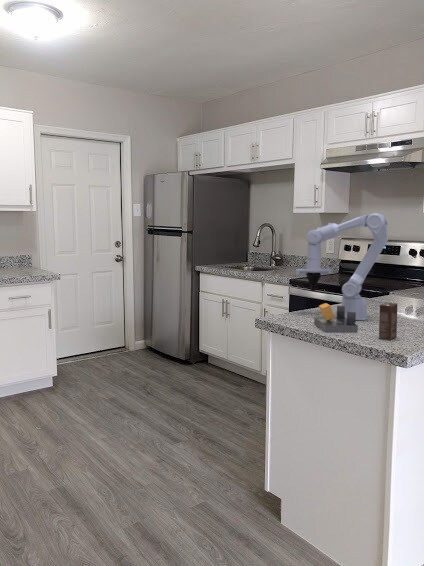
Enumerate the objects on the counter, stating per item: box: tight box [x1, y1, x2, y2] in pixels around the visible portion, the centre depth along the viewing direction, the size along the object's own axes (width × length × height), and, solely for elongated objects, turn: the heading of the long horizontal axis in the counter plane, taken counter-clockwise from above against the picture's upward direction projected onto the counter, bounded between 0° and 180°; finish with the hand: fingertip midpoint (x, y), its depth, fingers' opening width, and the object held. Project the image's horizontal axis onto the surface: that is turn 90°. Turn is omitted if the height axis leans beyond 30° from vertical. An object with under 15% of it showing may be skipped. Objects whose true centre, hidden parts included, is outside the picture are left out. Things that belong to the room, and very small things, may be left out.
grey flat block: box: [313, 316, 359, 334], centre depth 184 cm, size 12×15×3 cm
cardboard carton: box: [318, 302, 335, 322], centre depth 183 cm, size 3×6×6 cm, turn 3°
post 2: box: [347, 312, 357, 326], centre depth 178 cm, size 3×3×4 cm
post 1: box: [336, 305, 345, 319], centre depth 190 cm, size 3×3×4 cm
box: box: [378, 302, 398, 341], centre depth 168 cm, size 6×4×12 cm
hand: (312, 290), depth 206 cm, fingers closed
